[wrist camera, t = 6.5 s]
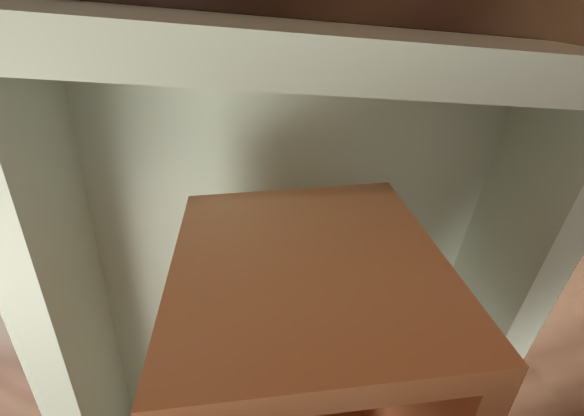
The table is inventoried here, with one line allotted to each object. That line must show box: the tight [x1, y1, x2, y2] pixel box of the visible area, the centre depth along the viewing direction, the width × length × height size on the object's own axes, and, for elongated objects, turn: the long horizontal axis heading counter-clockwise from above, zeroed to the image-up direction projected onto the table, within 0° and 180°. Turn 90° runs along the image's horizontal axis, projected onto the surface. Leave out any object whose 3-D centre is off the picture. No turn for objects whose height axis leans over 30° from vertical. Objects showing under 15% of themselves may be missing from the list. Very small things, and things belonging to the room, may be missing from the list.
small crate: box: [131, 182, 529, 416], centre depth 9 cm, size 5×8×6 cm, turn 1°
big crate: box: [0, 0, 584, 416], centre depth 12 cm, size 14×16×4 cm
